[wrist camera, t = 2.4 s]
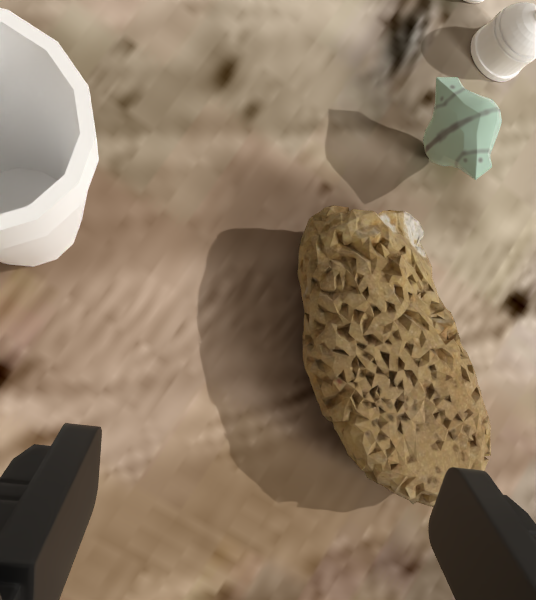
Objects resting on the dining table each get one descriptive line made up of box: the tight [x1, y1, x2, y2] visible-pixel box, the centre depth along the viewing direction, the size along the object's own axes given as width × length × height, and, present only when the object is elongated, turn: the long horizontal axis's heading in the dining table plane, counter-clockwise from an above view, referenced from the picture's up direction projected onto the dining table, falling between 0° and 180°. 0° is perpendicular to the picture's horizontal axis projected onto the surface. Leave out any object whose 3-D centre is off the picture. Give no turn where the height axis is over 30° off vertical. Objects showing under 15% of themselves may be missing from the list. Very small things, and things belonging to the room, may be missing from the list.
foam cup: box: [0, 8, 99, 267], centre depth 24 cm, size 10×9×13 cm
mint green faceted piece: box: [423, 77, 502, 180], centre depth 37 cm, size 8×4×7 cm, turn 21°
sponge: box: [297, 205, 491, 507], centre depth 33 cm, size 13×8×20 cm
